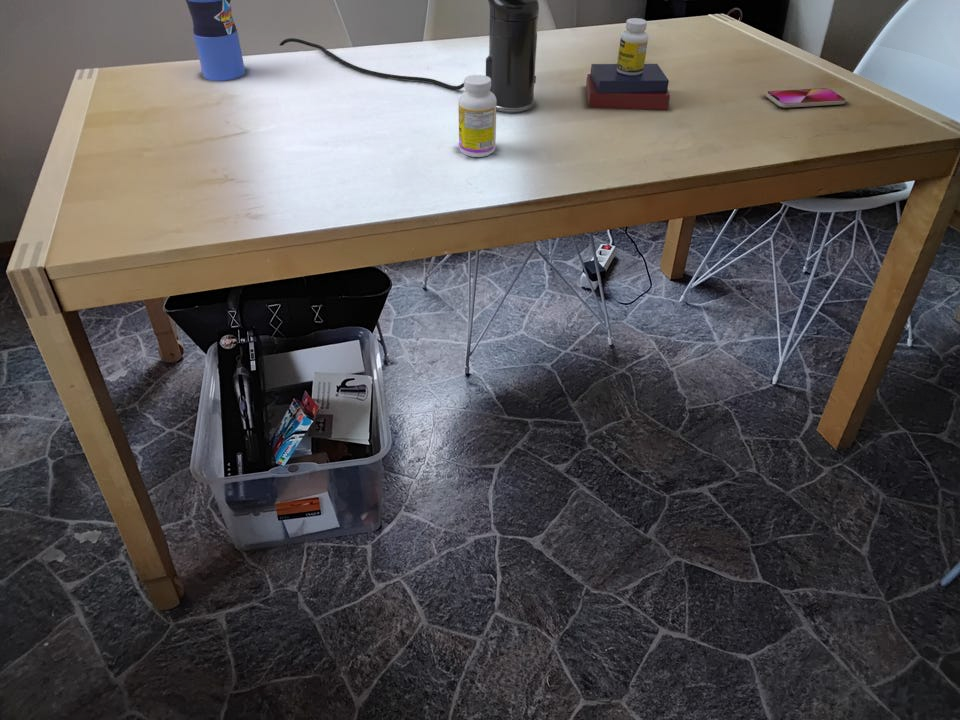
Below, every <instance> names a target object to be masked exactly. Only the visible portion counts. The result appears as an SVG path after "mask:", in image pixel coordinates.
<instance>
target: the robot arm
mask: <svg viewBox="0 0 960 720" xmlns="http://www.w3.org/2000/svg"><path fill="white" fill-rule="evenodd" d="M487 1H488V4H489V38H488V39H489V40H488V41H489V42H488V43H489V44H488V56H487V57H486V58H485V76H488V77H490V78H491V88H490V92H492V93H493V94H494V95H495V97H496V100H497V101H496V112H501V113H514V114H515V113H523V112H526V111H529V110H531V109H532V108H533V107H534V105H535V103H534V102H535V99H534V98H535V84H536V83H537V82H536V81H537V80H536V79H537V76H536V63H537V61H536V60H537V44H538V27H539V11H540V3H539V0H487ZM663 1H664V2H668V1H669V0H663ZM287 43H299V44H302V45H305V46H309V47H311V48H316V49H319V50H320V51H322V52H323V53H325V54H326V55H327V56H329V57H331V58H332V59H334V60H335V61H337V62H338V63H340V64H342V65H344V66H346V67H348V68H351V69H353V70H355V71H358V72H361V73H364V74H368V75H372V76H376V77H382V78H388V79H394V80H403V81H416V82H424V83H430V84H434V85H437V86H440V87H443V88H445V89H448V90H453V91H459V90H461V89H463V88H465V87H464V82H462V83H461V84H459V85H452V84H451V85H450V84H448V83H445V82H443V81H440V80H437V79H434V78H428V77H422V76H420V77H419V76H409V75H400V74H399V75H398V74H393V73H392V74H390V73H385V72H379V71H374V70H371V69H367V68H362V67H361V66H360V67H359V66H358V65H355V64H353V63H349V61H346V60H344V59H342V58H340V57H339V56H337V55H336V54H334V53H332V52H331V51H329V50H328V49H326V48H325V47H324V46H322V45H319V44H316V43H313V42H310V41H307V40H303V39H300V38H293V37H291V38H286V39H283V40H282V41H281V42H280V43H279V45H278V46H284V45H285V44H287Z"/></svg>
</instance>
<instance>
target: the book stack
mask: <svg viewBox="0 0 960 720" xmlns="http://www.w3.org/2000/svg"><path fill="white" fill-rule="evenodd" d="M669 82H670V80H669V78H668V77H667V75H666V74H665V73H664V70H662V68H661V67H660V66H659V64H658V63H644V69H643V72H642V73H641V74H639V75H635V76H629V75H624V74H621V73H619V72H618V71H617V63H591V66H590V73H587V74H586V83H585V84H586V85H585V92H586V98H587V105H588V108H593V109H594V108H595V109H596V108H597V109H600V108H601V109H624V110H625V109H627V110H628V109H629V110H654V111H655V110H656V111H657V110H658V111H660V110H661V111H668V109H669V105H670V98H671V93H670V92H669V84H670V83H669Z"/></svg>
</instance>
